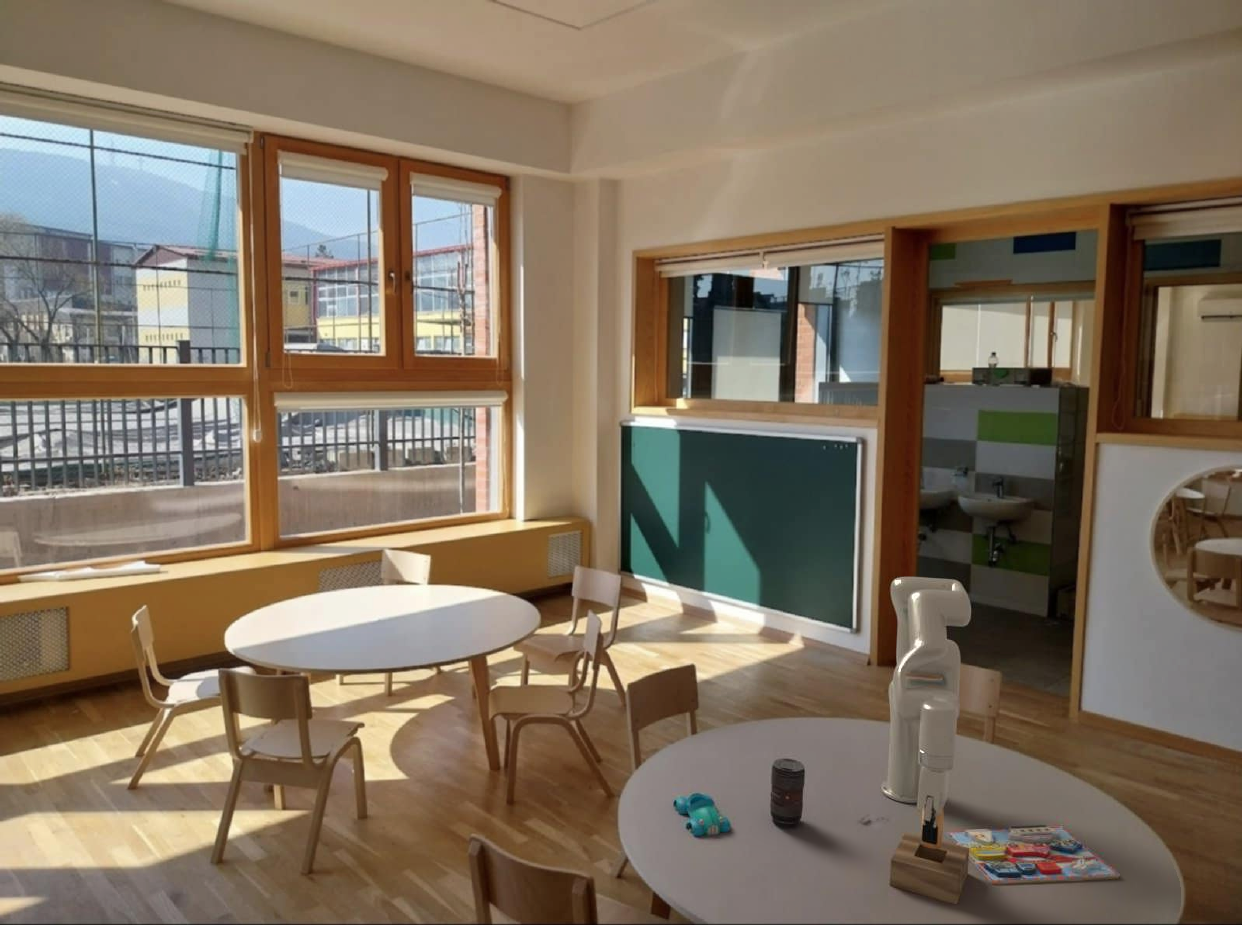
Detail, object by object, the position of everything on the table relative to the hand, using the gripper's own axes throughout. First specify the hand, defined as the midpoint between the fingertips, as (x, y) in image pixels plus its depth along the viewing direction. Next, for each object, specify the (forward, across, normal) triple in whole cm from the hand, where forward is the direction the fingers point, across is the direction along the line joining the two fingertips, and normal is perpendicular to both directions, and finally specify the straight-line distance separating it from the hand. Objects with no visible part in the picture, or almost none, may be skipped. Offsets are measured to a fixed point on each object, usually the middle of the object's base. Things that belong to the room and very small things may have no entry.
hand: (931, 836), depth 204 cm
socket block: (+10, 0, 0) cm, 10 cm away
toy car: (+11, +1, -55) cm, 56 cm away
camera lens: (+10, -8, -36) cm, 38 cm away
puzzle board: (+11, -23, +18) cm, 31 cm away
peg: (+2, 0, 0) cm, 2 cm away
